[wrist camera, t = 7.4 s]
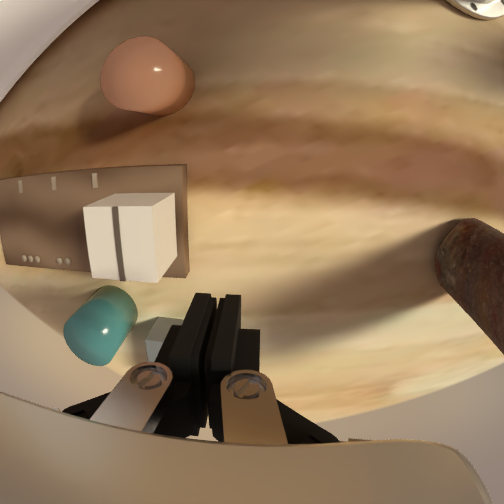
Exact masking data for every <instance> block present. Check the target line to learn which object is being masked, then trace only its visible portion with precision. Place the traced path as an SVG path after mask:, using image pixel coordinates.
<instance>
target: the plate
mask: <svg viewBox="0 0 504 504" xmlns="http://www.w3.org/2000/svg"><path fill="white" fill-rule="evenodd" d="M98 1H99V0H0V102H1V101H2V100H3V98H4V97H5V96H6V94H7V93H8V92H9V91H10V89H11V88H12V87H13V85H14V84H15V83H16V82H17V81H18V79H19V78H20V77H21V76H22V75H23V73H24V72H25V71H26V70H27V69H28V68H29V67H30V65H31V64H32V63H33V62H34V61H35V60H36V59H37V58H38V57H39V55H40V54H41V53H42V52H43V51H44V50H45V49H46V48H47V47H48V46H49V45H50V44H51V43H52V42H53V41H54V40H55V39H56V38H57V37H58V36H59V35H60V34H61V33H62V32H63V31H64V30H65V29H67V28H68V27H69V26H70V25H71V24H72V23H73V22H74V21H75V20H76V19H78V18H79V17H80V16H81V15H82V14H83V13H84V12H86V11H87V10H88V9H89V8H90V7H92V6H93V5H94V4H95V3H97V2H98Z"/></svg>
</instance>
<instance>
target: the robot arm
mask: <svg viewBox="0 0 504 504" xmlns="http://www.w3.org/2000/svg"><path fill="white" fill-rule="evenodd" d="M446 1H447V2H449V3H450V4H451V5H453V6H454V7H456V8H457V9H459V10H461V11H462V12H464V13H466V14H468V15H470V16H472V17H475V18H479V19H483V20H493V19H497V18H499V17H502V16H503V15H504V0H446ZM259 357H260V330H257V329H241V295H229V294H226V297H225V298H220V300H219V304H218V308H217V301H216V298H212V297H211V294H208V293H196V294H195V296H194V298H193V300H192V303H191V305H190V307H189V309H188V312H187V314H186V316H185V319H184V321H183V323H182V325H172V326H171V327H170V329H169V331H168V333H167V336H166V338H165V340H164V342H163V344H162V346H161V348H160V350H159V353H158V355H157V357H156V359H155V361H154V362H144V363H140V364H137V365H135V366H133V367H132V368H130V369H129V370H128V371H127V372H126V374H125V375H124V376H123V377H122V379H121V380H120V382H119V383H118V384H117V385H116V386H115V388H114V389H113V390H112V391H111V392H109V393H106V394H104V395H101V396H98V397H95V398H93V399H90V400H87V401H85V402H82V403H79V404H76V405H73V406H70V407H68V408H66V409H64V410H63V411H62V412H61V411H60V410H59V408H49V407H45V406H41V405H39V404H36V403H33V402H30V401H27V400H23V399H21V398H18V397H15V396H12V395H9V394H6V393H3V392H0V504H494V503H493V501H492V498H491V496H490V494H489V492H488V490H487V488H486V486H485V484H484V483H483V481H482V479H481V477H480V476H479V474H478V473H477V471H476V469H475V468H474V467H473V465H472V464H471V462H470V461H469V460H468V459H467V458H466V457H465V456H464V455H463V454H462V453H461V452H459V451H458V450H457V449H455V448H453V447H450V446H447V445H444V444H440V443H436V442H430V441H422V440H406V439H390V440H362V439H350V438H349V439H348V441H347V442H343V441H339V440H338V439H337V438H336V437H335V436H334V435H332V434H331V433H329V432H328V431H326V430H324V429H323V428H321V427H319V426H318V425H316V424H314V423H313V422H311V421H310V420H308V419H306V418H305V417H303V416H302V415H300V414H298V413H297V412H295V411H294V410H292V409H291V408H289V407H288V406H286V405H284V404H283V403H281V402H280V401H278V400H277V399H276V396H275V393H274V389H273V385H272V383H271V381H270V379H269V378H268V377H267V376H266V375H264V374H262V373H260V372H259ZM208 416H209V426H210V428H212V432H213V437H215V438H216V439H217V440H218V441H219V442H217V441H206V440H197V439H188V438H186V437H188V436H190V435H193V436H198V434H199V429H200V427H202V428H205V427H206V423H207V417H208Z"/></svg>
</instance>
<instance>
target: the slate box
mask: <svg viewBox="0 0 504 504" xmlns="http://www.w3.org/2000/svg"><path fill="white" fill-rule="evenodd" d="M183 321H184V320H181V319H172V318H164V317H158V318H157V319H156V321H155V323H154V325H153V326H152V328H151V330H150V332H149V333H148V335H147V337H146V339H145V344H146V351H147V357H148V362H154V361H155V359H156V357H157V355H158V353H159V350H160V348H161V346H162V344H163V342H164V340H165V338H166V336H167V333H168V331H169V329H170V327H171V326H172V325H182V323H183Z"/></svg>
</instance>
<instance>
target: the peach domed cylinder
mask: <svg viewBox="0 0 504 504" xmlns="http://www.w3.org/2000/svg"><path fill="white" fill-rule="evenodd" d="M100 83H101V89H102V92H103V94H104V96H105V98H106V99H107V100H108V101H109V102H110V103H111V104H112V105H114V106H115V107H118V108H121V109H125V110H131V111H136V112H141V113H147V114H152V115H157V116H165V115H170V114H173V113H175V112H177V111H179V110H180V109H181V108H183V107H184V106H185V105H186V104H187V102H188V101H189V100H190V98H191V96H192V93H193V90H194V84H195V82H194V75H193V72H192V70H191V69H190V67H189V66H188V65H187V64H186V63H185V62H184V61H183V60H182V59H180V58H179V57H178V56H177V55H176V54H175V53H174V52H173V51H171V50H170V49H169V48H168V47H167V46H166V45H165V44H163V43H162V42H161V41H159V40H157V39H155V38H152V37H146V36H141V37H135V38H131V39H129V40H127V41H125V42H123V43H121V44H120V45H118V46H117V47H116V48H115V49H114V50H113V51H112V52H111V53H110V54H109V56H108V57H107V59H106V61H105V63H104V65H103V68H102V71H101V77H100Z"/></svg>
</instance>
